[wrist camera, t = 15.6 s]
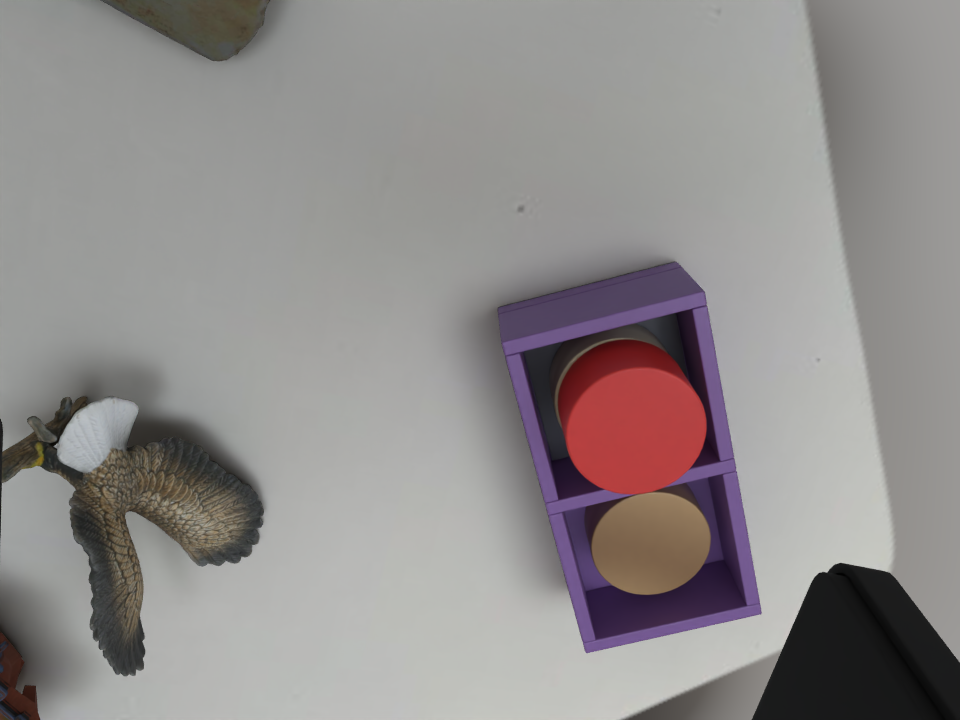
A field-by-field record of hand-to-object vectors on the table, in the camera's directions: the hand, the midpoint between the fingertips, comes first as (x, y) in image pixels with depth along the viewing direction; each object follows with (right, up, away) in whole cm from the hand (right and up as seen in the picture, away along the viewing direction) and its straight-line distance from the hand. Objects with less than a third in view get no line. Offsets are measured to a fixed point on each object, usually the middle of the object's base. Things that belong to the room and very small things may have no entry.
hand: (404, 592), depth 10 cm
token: (+7, -3, +23) cm, 25 cm away
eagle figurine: (-12, -2, +24) cm, 26 cm away
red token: (+6, +1, +19) cm, 20 cm away
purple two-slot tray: (+6, 0, +23) cm, 24 cm away
